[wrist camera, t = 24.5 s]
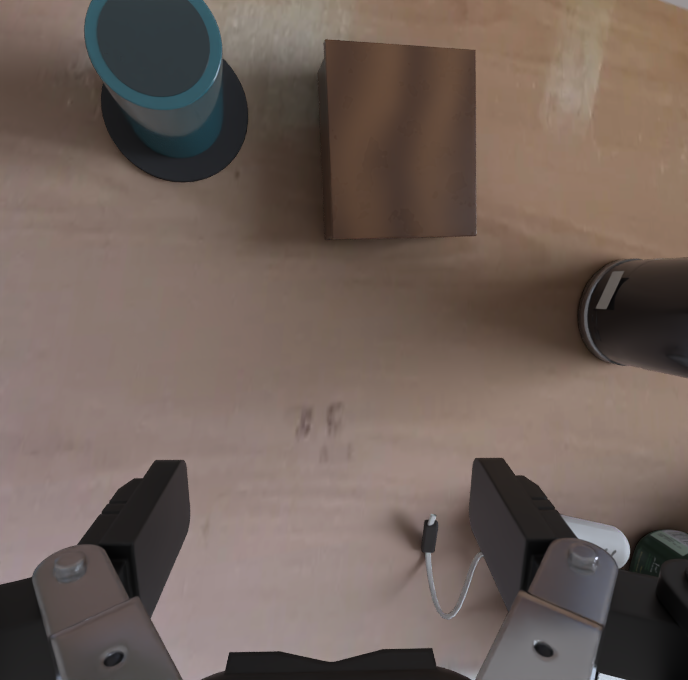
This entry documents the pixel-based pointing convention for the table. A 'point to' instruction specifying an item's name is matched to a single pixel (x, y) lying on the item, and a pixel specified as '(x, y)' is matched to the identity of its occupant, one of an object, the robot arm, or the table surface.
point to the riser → (397, 140)
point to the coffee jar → (658, 551)
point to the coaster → (191, 166)
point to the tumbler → (161, 69)
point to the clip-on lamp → (583, 529)
